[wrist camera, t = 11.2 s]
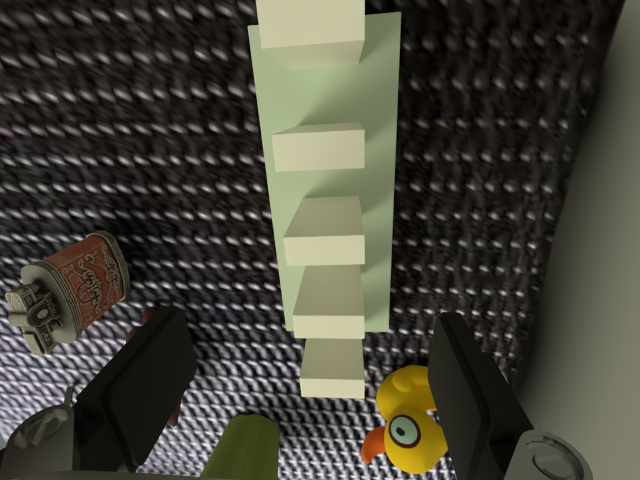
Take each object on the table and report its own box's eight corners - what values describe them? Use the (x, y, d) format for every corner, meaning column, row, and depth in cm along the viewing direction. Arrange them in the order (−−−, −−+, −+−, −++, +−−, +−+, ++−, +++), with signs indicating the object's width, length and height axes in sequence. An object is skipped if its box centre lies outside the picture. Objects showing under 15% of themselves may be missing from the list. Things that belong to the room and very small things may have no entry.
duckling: (365, 399, 38) (371, 492, 29) (352, 368, 36) (353, 457, 27) (459, 381, 35) (499, 477, 26) (450, 347, 33) (489, 438, 24)
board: (250, 28, 23) (247, 25, 22) (399, 14, 22) (401, 11, 21) (287, 325, 34) (286, 330, 33) (387, 326, 33) (388, 331, 32)
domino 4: (307, 257, 29) (292, 315, 21) (359, 256, 29) (364, 315, 21) (309, 275, 30) (294, 338, 22) (359, 274, 30) (364, 338, 21)
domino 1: (289, 38, 22) (255, -2, 14) (357, 32, 22) (364, -13, 14) (291, 69, 23) (261, 48, 15) (358, 64, 23) (364, 39, 14)
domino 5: (311, 308, 32) (299, 378, 24) (359, 308, 31) (364, 380, 23) (313, 323, 33) (301, 396, 24) (359, 323, 32) (364, 398, 24)
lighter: (85, 229, 31) (-24, 280, 22) (116, 230, 31) (19, 282, 22) (107, 295, 34) (20, 363, 25) (135, 297, 34) (58, 366, 25)
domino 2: (296, 125, 25) (271, 134, 16) (358, 122, 24) (364, 129, 16) (298, 150, 25) (275, 171, 17) (358, 148, 25) (364, 167, 17)
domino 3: (302, 198, 27) (283, 237, 19) (359, 195, 26) (364, 235, 18) (304, 219, 28) (286, 266, 20) (359, 216, 27) (364, 264, 19)
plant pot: (209, 446, 44) (167, 549, 34) (216, 390, 39) (170, 491, 29) (288, 464, 44) (270, 572, 34) (305, 412, 39) (290, 519, 29)
